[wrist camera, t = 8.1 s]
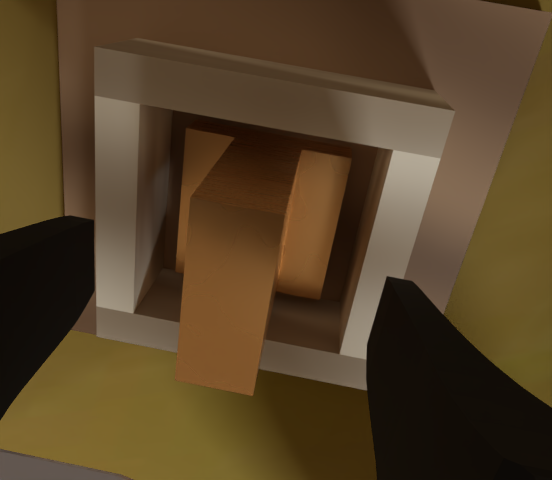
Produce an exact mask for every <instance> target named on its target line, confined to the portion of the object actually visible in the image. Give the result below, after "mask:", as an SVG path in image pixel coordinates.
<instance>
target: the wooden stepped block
mask: <svg viewBox="0 0 552 480" xmlns="http://www.w3.org/2000/svg"><path fill="white" fill-rule="evenodd" d="M351 161H352V150H351V148H350V147H344V146H339V145H334V144H328V143H323V142H317V141H312V140H306V139H301V138H295V137H290V136H284V135H279V134H273V133H268V132H262V131H257V130H251V129H246V128H241V127H235V126H230V125H224V124H219V123H213V122H208V121H202V120H197V119H196V120H195V121H194V122H193V123H191V124H190V125H189V126H188V127H187V128H186V133H185V147H184V161H183V174H182V188H181V201H180V215H179V228H178V242H177V255H176V269H175V272H178V273H183V274H184V278H183V290H182V302H181V314H180V326H179V338H178V350H177V362H176V374H175V380H176V381H181V382H186V383H191V384H196V385H200V386H205V387H210V388H215V389H220V390H225V391H230V392H235V393H240V394H245V395H250V396H253V394H254V389H255V385H256V380H257V376H258V371H259V367H260V362H261V358H262V353H263V348H264V344H265V339H266V335H267V330H268V326H269V321H270V317H271V312H272V308H273V303H274V299H275V294H276V292H280V293H286V294H291V295H296V296H301V297H306V298H311V299H317V300H320V296H321V292H322V288H323V283H324V279H325V275H326V270H327V266H328V262H329V257H330V253H331V248H332V244H333V240H334V235H335V231H336V227H337V222H338V218H339V214H340V209H341V205H342V200H343V196H344V192H345V187H346V183H347V179H348V174H349V170H350V166H351Z"/></svg>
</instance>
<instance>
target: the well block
mask: <svg viewBox="0 0 552 480" xmlns="http://www.w3.org/2000/svg"><path fill="white" fill-rule="evenodd" d="M551 18H552V13H551V12H545V11H539V10H533V9H527V8H521V7H515V6H509V5H503V4H498V3H492V2H486V1H480V0H57V23H58V49H59V75H60V101H61V128H62V154H63V180H64V206H65V216H69V215H71V216H76V217H82V218H87V219H92V220H94V253H95V291H94V293H93V295H92V297H91V299H90V300H89V302H88V304H87V306H86V307H85V309H84V311H83V312H82V314H81V316H80V317H79V319H78V321H77V322H76V323H75V325H74V326H73V327H72V329H71V330H75V331H80V332H85V333H90V334H95V335H97V337H101V338H106V339H111V340H116V341H121V342H126V343H131V344H136V345H141V346H146V347H151V348H156V349H161V350H166V351H171V352H176V353H177V350H178V338H179V326H180V314H181V302H182V290H183V278H184V274H183V273H178V272H175V269H176V255H177V242H178V228H179V215H180V201H181V188H182V174H183V161H184V147H185V133H186V128H187V127H188V126H189V125H190V124H191V123H193V122H194V121H195V120H196V119H197V120H202V121H208V122H213V123H219V124H224V125H230V126H235V127H241V128H246V129H251V130H257V131H262V132H268V133H273V134H279V135H284V136H290V137H295V138H301V139H306V140H312V141H317V142H323V143H328V144H334V145H339V146H344V147H350V148H351V150H352V161H351V166H350V170H349V174H348V179H347V183H346V187H345V192H344V196H343V200H342V205H341V209H340V214H339V218H338V222H337V227H336V231H335V235H334V240H333V244H332V248H331V253H330V257H329V262H328V266H327V270H326V275H325V279H324V283H323V288H322V292H321V296H320V300H317V299H311V298H306V297H301V296H296V295H291V294H286V293H280V292H276V294H275V299H274V303H273V308H272V312H271V317H270V321H269V326H268V330H267V335H266V339H265V344H264V348H263V353H262V358H261V362H260V367H259V369H262V370H267V371H272V372H277V373H282V374H287V375H292V376H297V377H302V378H307V379H312V380H317V381H322V382H327V383H332V384H337V385H342V386H347V387H352V388H357V389H362V390H367V384H366V356H367V342H368V339H369V335H370V332H371V328H372V325H373V322H374V318H375V315H376V311H377V308H378V304H379V301H380V298H381V294H382V291H383V287H384V284H385V280H386V277H387V276H390V277H395V278H400V279H405V280H410V281H413V282H414V283H415V284H416V285H417V286H418V287H419V288H420V289H421V290H422V291H423V292H424V294H425V295H426V296H427V297H428V298H429V299H430V300H431V301H432V303H433V304H434V305H435V306H436V307H437V308H438V309H439V310H440V312H441V313H442V314H444V311H445V308H446V306H447V303H448V300H449V297H450V295H451V292H452V289H453V286H454V284H455V281H456V278H457V276H458V273H459V270H460V267H461V265H462V262H463V259H464V256H465V254H466V251H467V248H468V245H469V243H470V240H471V237H472V234H473V232H474V229H475V226H476V223H477V221H478V218H479V215H480V212H481V210H482V207H483V204H484V201H485V199H486V196H487V193H488V191H489V188H490V185H491V182H492V180H493V177H494V174H495V171H496V169H497V166H498V163H499V160H500V158H501V155H502V152H503V149H504V147H505V144H506V141H507V138H508V136H509V133H510V130H511V127H512V125H513V122H514V119H515V116H516V114H517V111H518V108H519V106H520V103H521V100H522V97H523V95H524V92H525V89H526V86H527V84H528V81H529V78H530V75H531V73H532V70H533V67H534V64H535V62H536V59H537V56H538V53H539V51H540V48H541V45H542V42H543V40H544V37H545V34H546V31H547V29H548V26H549V23H550V21H551Z"/></svg>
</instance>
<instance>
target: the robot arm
mask: <svg viewBox="0 0 552 480" xmlns="http://www.w3.org/2000/svg"><path fill="white" fill-rule="evenodd" d="M94 291H95V253H94V220H92V219H87V218H82V217H76V216H71V215H69V216H63V217H58V218H54V219H50V220H46V221H43V222H39V223H36V224H33V225H29V226H26V227H23V228H19V229H16V230H13V231H9V232H6V233H3V234H0V420H1V418H2V417H3V415H4V414H5V412H6V411H7V409H8V408H9V406H10V405H11V403H12V402H13V401H14V399H15V398H16V397H17V395H18V394H19V393H20V391H21V390H22V389H23V388H24V386H25V385H26V384H27V383H28V381H29V380H30V379H31V378H32V377H33V375H34V374H35V373H36V372H37V370H38V369H39V368H40V367H41V366H42V364H43V363H44V362H45V361H46V359H47V358H48V357H49V356H50V355H51V353H52V352H53V351H54V350H55V349H56V347H57V346H58V345H59V344H60V342H61V341H62V340H63V339H64V337H65V336H66V335H67V334H68V332H69V331H70V330H71V329H72V327H73V326H74V325H75V323H76V322H77V321H78V319H79V317H80V316H81V314H82V312H83V311H84V309H85V307H86V306H87V304H88V302H89V300H90V299H91V297H92V295H93V293H94ZM366 384H367V393H368V402H369V410H370V418H371V427H372V435H373V443H374V451H375V459H376V471H377V480H552V408H551V407H550V406H548V405H547V404H545V403H544V402H543V401H541V400H540V399H538V398H537V397H535V396H534V395H532V394H531V393H530V392H528V391H527V390H525V389H524V388H523V387H521V386H520V385H519V384H517V383H516V382H515V381H514V380H513V379H511V378H510V377H509V376H508V375H506V374H505V373H504V372H503V371H501V370H500V369H499V368H498V367H496V366H495V365H494V364H493V363H492V362H491V361H489V360H488V359H487V358H486V357H485V356H484V355H483V354H482V353H481V352H480V351H479V350H477V349H476V348H475V347H474V346H473V345H472V344H471V343H470V342H469V341H468V340H467V339H466V338H465V337H464V336H463V335H462V334H461V333H460V332H459V331H458V330H457V329H456V328H455V327H454V326H453V325H452V324H451V323H450V321H449V320H448V319H447V318H446V317H445V316H444V315H443V314H442V313H441V312H440V310H439V309H438V308H437V307H436V306H435V305H434V304H433V303H432V301H431V300H430V299H429V298H428V297H427V296H426V295H425V294H424V292H423V291H422V290H421V289H420V288H419V287H418V286H417V285H416V284H415V283H414V282H413V281H410V280H405V279H400V278H395V277H390V276H387V277H386V280H385V284H384V287H383V291H382V294H381V298H380V301H379V304H378V308H377V311H376V315H375V318H374V322H373V325H372V328H371V332H370V335H369V339H368V342H367V356H366ZM0 480H133V479H131V478H128V477H126V476H123V475H121V474H116V473H111V472H106V471H102V470H97V469H92V468H88V467H83V466H78V465H73V464H69V463H64V462H59V461H54V460H50V459H45V458H40V457H35V456H31V455H26V454H21V453H16V452H12V451H7V450H2V449H0Z"/></svg>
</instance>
